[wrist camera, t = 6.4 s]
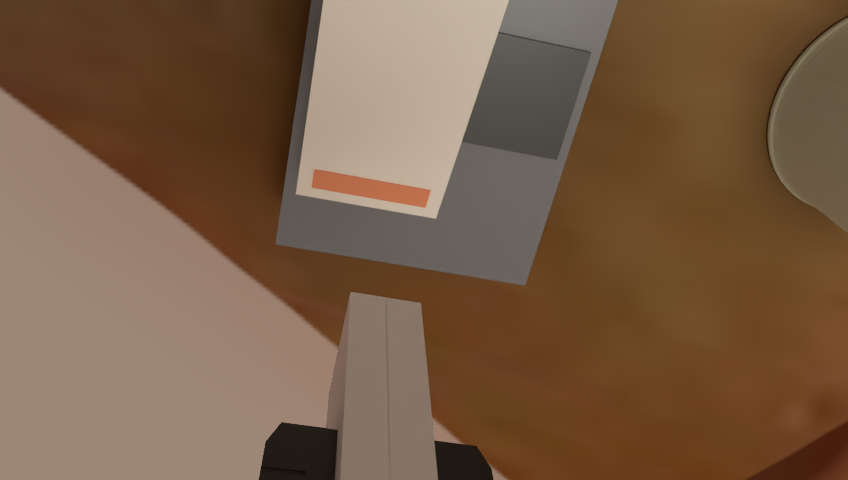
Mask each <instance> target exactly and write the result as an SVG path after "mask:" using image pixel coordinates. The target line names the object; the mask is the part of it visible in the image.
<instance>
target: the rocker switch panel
mask: <svg viewBox="0 0 848 480" xmlns="http://www.w3.org/2000/svg"><path fill="white" fill-rule="evenodd" d="M617 3H618V0H509V2H508V5H507V8H506V11H505V14H504V17H503V20H502V23H501V26H500V29H499V32H498V35H497V38H496V41H495V44H494V47H493V50H492V53H491V56H490V59H489V62H488V65H487V68H486V71H485V74H484V77H483V80H482V83H481V86H480V89H479V92H478V95H477V98H476V101H475V104H474V107H473V110H472V112H471V115H470V118H469V121H468V124H467V127H466V130H465V133H464V136H463V139H462V142H461V145H460V148H459V151H458V154H457V157H456V160H455V163H454V166H453V169H452V172H451V175H450V178H449V181H448V184H447V187H446V190H445V193H444V196H443V199H442V202H441V205H440V208H439V211H438V214H437V217H436V219H434V218H428V217H423V216H417V215H411V214H406V213H400V212H394V211H388V210H383V209H377V208H371V207H365V206H360V205H354V204H348V203H343V202H337V201H331V200H325V199H320V198H314V197H308V196H303V195H297V194H296V189H297V182H298V175H299V168H300V161H301V154H302V146H303V139H304V132H305V125H306V118H307V111H308V104H309V97H310V90H311V83H312V76H313V69H314V62H315V55H316V48H317V41H318V34H319V27H320V20H321V13H322V6H323V0H311V7H310V14H309V21H308V27H307V34H306V41H305V48H304V54H303V61H302V68H301V75H300V81H299V88H298V95H297V102H296V109H295V115H294V122H293V129H292V136H291V142H290V149H289V156H288V163H287V169H286V176H285V183H284V190H283V197H282V203H281V210H280V217H279V224H278V230H277V237H276V245H282V246H288V247H294V248H300V249H306V250H312V251H318V252H325V253H331V254H337V255H343V256H349V257H355V258H361V259H367V260H373V261H379V262H385V263H391V264H398V265H404V266H410V267H416V268H422V269H428V270H434V271H440V272H446V273H452V274H458V275H464V276H471V277H477V278H483V279H489V280H495V281H501V282H507V283H513V284H519V285H526V281H527V278H528V275H529V272H530V269H531V266H532V263H533V260H534V257H535V254H536V251H537V248H538V245H539V242H540V239H541V236H542V232H543V229H544V226H545V223H546V220H547V217H548V214H549V211H550V208H551V205H552V202H553V199H554V196H555V193H556V190H557V186H558V183H559V180H560V177H561V174H562V171H563V168H564V165H565V162H566V159H567V156H568V153H569V150H570V147H571V144H572V140H573V137H574V134H575V131H576V128H577V125H578V122H579V119H580V116H581V113H582V110H583V107H584V104H585V101H586V98H587V95H588V91H589V88H590V85H591V82H592V79H593V76H594V73H595V70H596V67H597V64H598V61H599V58H600V55H601V52H602V49H603V45H604V42H605V39H606V36H607V33H608V30H609V27H610V24H611V21H612V18H613V15H614V12H615V9H616V6H617Z"/></svg>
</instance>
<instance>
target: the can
mask: <svg viewBox="0 0 848 480" xmlns="http://www.w3.org/2000/svg"><path fill="white" fill-rule="evenodd" d="M767 140H768V150H769V155H770V159H771V162H772V165H773V168H774V170H775V172H776V174H777V176H778V178H779V179H780V181H781V182H782V183H783V185H784V186H785V187H786V188H787V189H788V190H789V191H790V192H791V193H792V194H793V195H794V196H796V197H797V198H798V199H800V200H802V201H803V202H805V203H807V204H809V205H811V206H813V207H815V208H816V209H818V210H819V211H820V212H822V213H823V214H824V215H825V216H827V217H828V218H829V219H830V220H832V221H833V222H834V223H835V224H836V225H838V226H839V227H840V228H841V229H843V230H844V231H845V232H846V233H848V17H847V18H845V19H843V20H842V21H840V22H838V23H837V24H836V25H834V26H833V27H831V28H830V29H828V30H827V31H825V32H824V33H823V34H822V35H821V36H819V37H818V38H817V39H816V40H815V41H814V42H812V43H811V44H810V45H809V46H808V48H807V49H806V50H805V51H804V52H803V53H802V54H801V55H800V56H799V58H798V59H797V60H796V61H795V63H794V64H793V65H792V67H791V68H790V70H789V71H788V73H787V74H786V76H785V78H784V79H783V81H782V83H781V85H780V87H779V89H778V91H777V93H776V96H775V99H774V102H773V105H772V108H771V112H770V116H769V121H768V133H767Z"/></svg>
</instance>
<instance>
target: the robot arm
mask: <svg viewBox="0 0 848 480" xmlns="http://www.w3.org/2000/svg"><path fill="white" fill-rule="evenodd" d="M259 480H493V475H492V470H491V467H490V466H489V464H488V463H487V461H486V460H485V458H484V457H483V455H482V454H481V452H480V451H479V449H478V448H477V446H471V445H463V444H456V443H448V442H441V441H434V434H433V423H432V413H431V402H430V392H429V382H428V372H427V362H426V351H425V341H424V331H423V321H422V310H421V303H417V302H411V301H405V300H399V299H392V298H386V297H380V296H374V295H367V294H361V293H355V292H350V297H349V302H348V306H347V311H346V316H345V320H344V325H343V330H342V335H341V339H340V344H339V349H338V354H337V358H336V363H335V368H334V373H333V377H332V382H331V387H330V391H329V401H328V413H327V424H326V428H320V427H312V426H305V425H298V424H290V423H281V424H280V425H279V426H278V427H277V429H276V430H275V431H274V433H273V434H272V435H271V436H270V437H269V438H268V440H267V441H266V443H265V449H264V455H263V460H262V466H261V471H260V477H259Z"/></svg>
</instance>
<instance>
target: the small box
mask: <svg viewBox="0 0 848 480" xmlns="http://www.w3.org/2000/svg"><path fill="white" fill-rule="evenodd" d="M508 2H509V0H323V6H322V13H321V20H320V27H319V34H318V41H317V48H316V55H315V62H314V69H313V76H312V83H311V90H310V97H309V104H308V111H307V118H306V125H305V132H304V139H303V146H302V154H301V161H300V168H299V175H298V182H297V189H296V194H297V195H303V196H308V197H314V198H320V199H325V200H331V201H337V202H343V203H348V204H354V205H360V206H365V207H371V208H377V209H383V210H388V211H394V212H400V213H406V214H411V215H417V216H423V217H428V218H434V219H436V217H437V214H438V211H439V208H440V205H441V202H442V199H443V196H444V193H445V190H446V187H447V184H448V181H449V178H450V175H451V172H452V169H453V166H454V163H455V160H456V157H457V154H458V151H459V148H460V145H461V142H462V139H463V136H464V133H465V130H466V127H467V124H468V121H469V118H470V115H471V112H472V110H473V107H474V104H475V101H476V98H477V95H478V92H479V89H480V86H481V83H482V80H483V77H484V74H485V71H486V68H487V65H488V62H489V59H490V56H491V53H492V50H493V47H494V44H495V41H496V38H497V35H498V32H499V29H500V26H501V23H502V20H503V17H504V14H505V11H506V8H507V5H508Z"/></svg>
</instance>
